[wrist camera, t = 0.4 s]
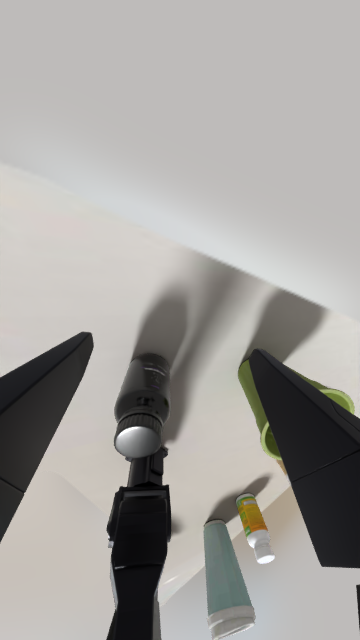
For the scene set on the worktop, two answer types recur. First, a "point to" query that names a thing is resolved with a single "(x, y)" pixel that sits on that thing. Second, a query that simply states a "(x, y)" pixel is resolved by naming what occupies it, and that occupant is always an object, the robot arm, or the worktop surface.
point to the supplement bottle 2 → (255, 528)
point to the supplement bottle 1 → (143, 407)
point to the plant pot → (261, 420)
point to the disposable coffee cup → (225, 585)
